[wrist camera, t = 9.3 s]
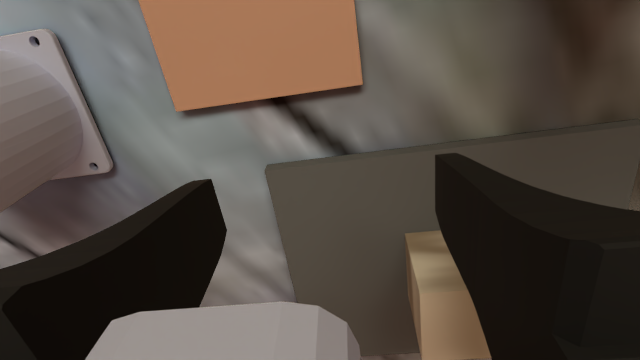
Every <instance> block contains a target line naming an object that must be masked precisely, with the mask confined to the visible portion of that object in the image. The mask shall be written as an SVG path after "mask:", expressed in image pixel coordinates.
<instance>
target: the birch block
mask: <svg viewBox="0 0 640 360" xmlns="http://www.w3.org/2000/svg"><path fill="white" fill-rule="evenodd" d="M405 247H406V265H407V284H408V297H409V301H410V306H411V311H412V316H413V320H414V325H415V330H416V335H417V339H418V344H419V349H420V354H421V358H422V360H462V359H482V358H491V355H490V352H489V349H488V346H487V342H486V339H485V336H484V333H483V330H482V327H481V324H480V321H479V318H478V315H477V312H476V309H475V306H474V304H473V301H472V299H471V296H470V294H469V292H468V290H467V287H466V285H465V283H464V281H463V279H462V277H461V275H460V273H459V270H458V268H457V266H456V264H455V262H454V260H453V258H452V256H451V253H450V251H449V249H448V247H447V245H446V243H445V240H444V238H443V236H442V233H441V230H439V231H427V232H416V233H405Z"/></svg>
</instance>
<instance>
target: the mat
mask: <svg viewBox="0 0 640 360" xmlns="http://www.w3.org/2000/svg"><path fill="white" fill-rule="evenodd" d="M447 153H458V154H461V155H463V156H466V157H468V158H470V159H472V160H474V161H476V162H478V163H480V164H482V165H484V166H486V167H488V168H490V169H493V170H495V171H497V172H499V173H501V174H504V175H506V176H508V177H510V178H513V179H515V180H518V181H520V182H523V183H525V184H528V185H531V186H533V187H536V188H539V189H542V190H546V191H549V192H552V193H555V194H559V195H562V196H566V197H569V198H573V199H577V200H582V201H586V202H591V203H595V204H600V205H604V206H610V207H616V208H621V209H627V210H628V206H629V202H630V198H631V194H632V190H633V186H634V182H635V178H636V174H637V170H638V166H639V162H640V120H639V119H634V120H626V121H618V122H610V123H602V124H593V125H585V126H577V127H569V128H561V129H553V130H545V131H537V132H529V133H521V134H513V135H504V136H496V137H488V138H480V139H472V140H464V141H456V142H448V143H440V144H432V145H424V146H415V147H407V148H399V149H391V150H383V151H375V152H367V153H359V154H351V155H343V156H335V157H326V158H318V159H310V160H302V161H294V162H286V163H278V164H270V165H267V166H266V169H265V174H266V178H267V182H268V186H269V190H270V194H271V199H272V203H273V207H274V211H275V215H276V219H277V223H278V227H279V231H280V235H281V239H282V243H283V247H284V251H285V255H286V259H287V263H288V267H289V271H290V275H291V279H292V283H293V287H294V291H295V295H296V299H297V303H301V304H309V305H317V306H320V307H321V308H323V309H325V310H326V311H328V312H330V313H332V314H333V315H335V316H337V317H338V318H340V319H342V320H343V321H345V322H347V324H348V325H349V327H350V329H351V331H352V333H353V335H354V337H355V338H356V340H357V342H358V344H359V348H360V355H361V356H371V355H387V354H404V353H420V349H419V344H418V339H417V335H416V330H415V325H414V320H413V316H412V311H411V306H410V301H409V297H408V284H407V265H406V247H405V233H416V232H427V231H439V230H441V229H440V226H439V223H438V219H437V216H436V212H435V155H438V154H447Z"/></svg>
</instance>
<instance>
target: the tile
mask: <svg viewBox="0 0 640 360" xmlns="http://www.w3.org/2000/svg"><path fill="white" fill-rule="evenodd" d="M139 3H140V6H141V9H142V12H143V15H144V18H145V21H146V24H147V27H148V30H149V33H150V36H151V38H152V41H153V44H154V47H155V50H156V53H157V56H158V59H159V62H160V65H161V68H162V71H163V74H164V77H165V80H166V83H167V85H168V88H169V91H170V94H171V97H172V100H173V103H174V106H175V109H176V112H177V111H184V110H191V109H198V108H205V107H212V106H219V105H225V104H232V103H239V102H246V101H253V100H260V99H267V98H274V97H281V96H288V95H295V94H301V93H308V92H315V91H322V90H329V89H336V88H343V87H350V86H357V85H363V81H362V72H361V62H360V53H359V44H358V34H357V25H356V15H355V6H354V0H139Z"/></svg>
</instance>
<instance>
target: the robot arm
mask: <svg viewBox="0 0 640 360" xmlns="http://www.w3.org/2000/svg"><path fill="white" fill-rule="evenodd" d="M35 37H36V38H37V39H38V40H39V42H40V45H38V44H37V43H36V42H35ZM93 163H95V164H97V166H98V168H97V167H95V166H94V164H93ZM112 168H113V162H112V159H111V157H110V155H109V153H108V151H107V148H106V146H105V144H104V142H103V139H102V137H101V135H100V133H99V130H98V128H97V126H96V124H95V121H94V119H93V117H92V115H91V113H90V110H89V108H88V106H87V104H86V101H85V99H84V97H83V95H82V92H81V90H80V88H79V86H78V83H77V81H76V79H75V77H74V74H73V72H72V70H71V68H70V66H69V63H68V61H67V59H66V57H65V54H64V52H63V50H62V48H61V45H60V43H59V41H58V39H57V37H56V35H55V34H54V33H53V32H52V31H51V30H48V29H39V30H33V31H28V32H22V33H17V34H11V35H5V36H0V212H2V211H3V210H4V209H6V208H7V207H9V206H10V205H12V204H13V203H15V202H16V201H18V200H19V199H21V198H22V197H24V196H25V195H27V194H28V193H30V192H31V191H33V190H34V189H36V188H37V187H39V186H40V185H42V184H43V183H45V182H46V181H48V180H54V179H62V178H70V177H77V176H85V175H93V174H101V173H107V172H109V171H110V170H111V169H112ZM435 212H436V216H437V219H438V223H439V226H440V229H441V233H442V236H443V238H444V240H445V243H446V245H447V247H448V249H449V251H450V253H451V256H452V258H453V260H454V262H455V264H456V266H457V268H458V270H459V273H460V275H461V277H462V279H463V281H464V283H465V285H466V287H467V290H468V292H469V294H470V296H471V299H472V301H473V304H474V306H475V309H476V312H477V315H478V318H479V321H480V324H481V327H482V330H483V333H484V336H485V339H486V342H487V346H488V349H489V352H490V355H491V358H492V360H640V211H634V210H627V209H621V208H616V207H610V206H604V205H600V204H595V203H591V202H586V201H582V200H577V199H573V198H569V197H566V196H562V195H559V194H555V193H552V192H549V191H546V190H542V189H539V188H536V187H533V186H531V185H528V184H525V183H523V182H520V181H518V180H515V179H513V178H510V177H508V176H506V175H504V174H501V173H499V172H497V171H495V170H493V169H490V168H488V167H486V166H484V165H482V164H480V163H478V162H476V161H474V160H472V159H470V158H468V157H466V156H463V155H461V154H458V153H447V154H438V155H435ZM226 232H227V229H226V226H225V222H224V219H223V216H222V213H221V209H220V206H219V203H218V199H217V196H216V193H215V190H214V186H213V183H212V180H211V179H206V180H197V181H192V182H189V183H187V184H185V185H183V186H181V187H179V188H177V189H176V190H174V191H172V192H171V193H169V194H167V195H165V196H164V197H162V198H160V199H159V200H157V201H155V202H154V203H152V204H150V205H149V206H147V207H145V208H144V209H142V210H140V211H138V212H137V213H135V214H133V215H131V216H129V217H128V218H126V219H124V220H122V221H121V222H119V223H117V224H115V225H113V226H111V227H109V228H107V229H105V230H103V231H101V232H99V233H97V234H94V235H92V236H90V237H88V238H86V239H83V240H81V241H79V242H76V243H74V244H71V245H69V246H66V247H64V248H61V249H58V250H56V251H53V252H51V253H48V254H46V255H43V256H40V257H37V258H34V259H31V260H28V261H25V262H22V263H19V264H16V265H13V266H9V267H6V268H3V269H0V360H361V355H360V348H359V344H358V342H357V340H356V338H355V337H354V335H353V333H352V331H351V329H350V327H349V325H348V324H347V322H345V321H343V320H342V319H340V318H338V317H337V316H335V315H333V314H332V313H330V312H328V311H326V310H325V309H323V308H321V307H320V306H317V305H309V304H301V303H293V302H270V303H256V304H242V305H228V306H215V307H201V308H199V306H200V304H201V302H202V299H203V297H204V295H205V292H206V290H207V288H208V285H209V283H210V280H211V278H212V276H213V273H214V271H215V269H216V266H217V264H218V261H219V259H220V256H221V253H222V249H223V245H224V241H225V237H226Z"/></svg>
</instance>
